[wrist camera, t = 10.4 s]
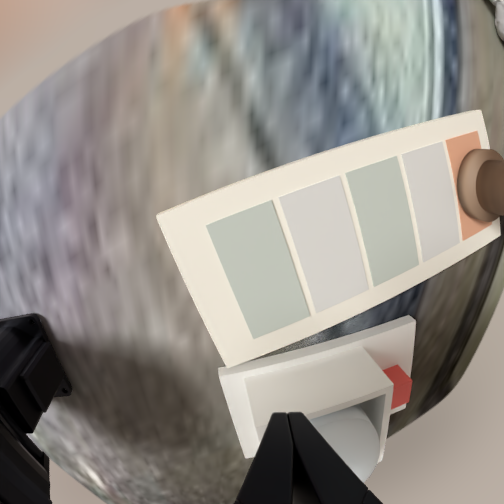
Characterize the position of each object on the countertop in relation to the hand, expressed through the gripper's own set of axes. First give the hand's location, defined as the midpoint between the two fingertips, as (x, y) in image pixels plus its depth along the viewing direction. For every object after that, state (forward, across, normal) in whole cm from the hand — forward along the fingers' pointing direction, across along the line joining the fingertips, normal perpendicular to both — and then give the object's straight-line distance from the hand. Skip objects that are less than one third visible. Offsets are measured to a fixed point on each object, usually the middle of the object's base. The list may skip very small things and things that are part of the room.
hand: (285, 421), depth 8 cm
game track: (+12, -6, -3) cm, 14 cm away
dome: (+8, -4, +9) cm, 13 cm away
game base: (+11, -5, +9) cm, 15 cm away
